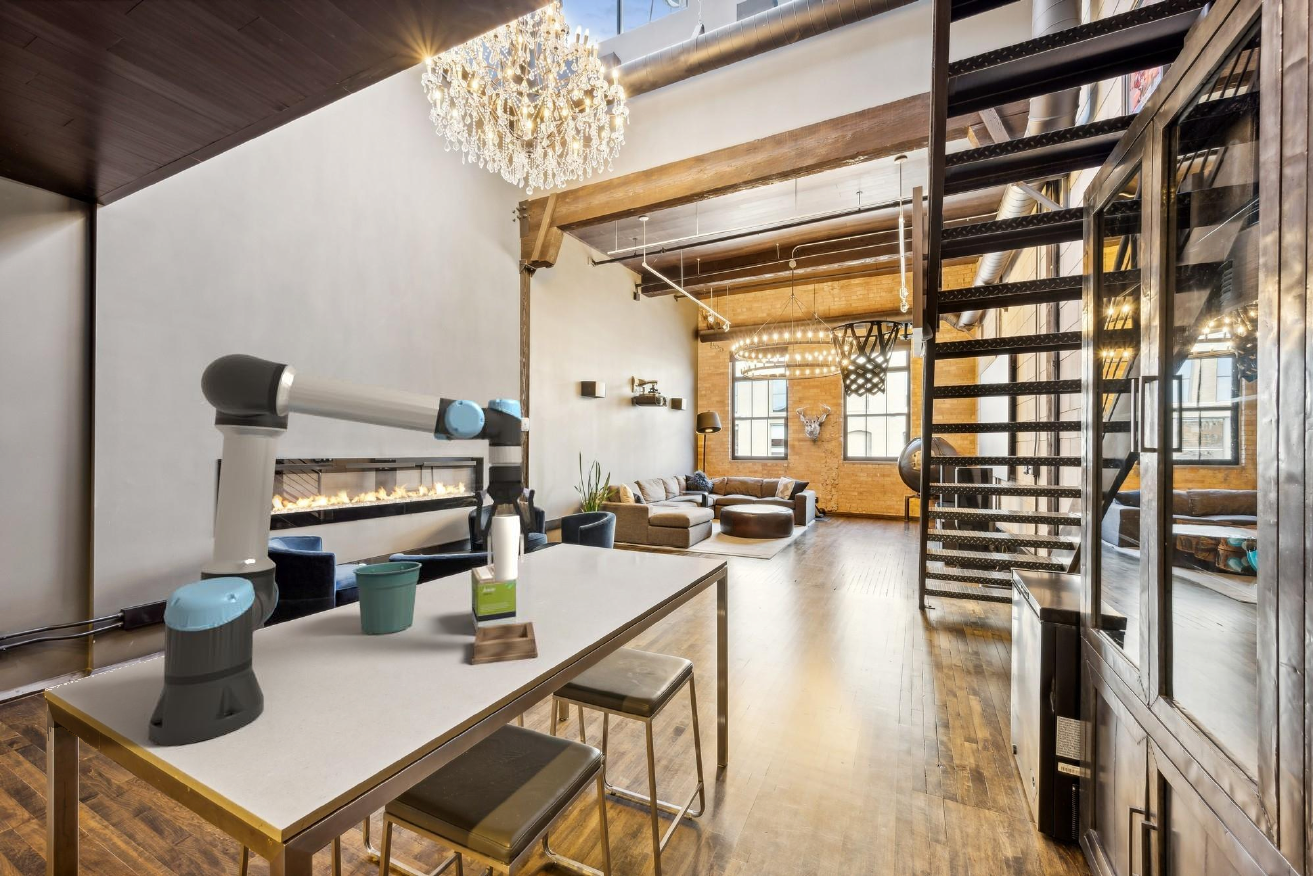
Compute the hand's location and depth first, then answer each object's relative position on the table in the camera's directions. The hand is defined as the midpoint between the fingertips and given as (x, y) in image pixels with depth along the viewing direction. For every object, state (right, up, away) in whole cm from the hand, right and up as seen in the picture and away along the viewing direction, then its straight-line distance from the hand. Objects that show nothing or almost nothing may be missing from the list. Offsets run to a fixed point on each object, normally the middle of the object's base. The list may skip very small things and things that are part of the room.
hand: (506, 562), depth 125 cm
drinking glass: (0, -4, 0) cm, 4 cm away
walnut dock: (0, -20, -1) cm, 20 cm away
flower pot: (-36, -21, +17) cm, 45 cm away
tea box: (-8, -21, +18) cm, 29 cm away
